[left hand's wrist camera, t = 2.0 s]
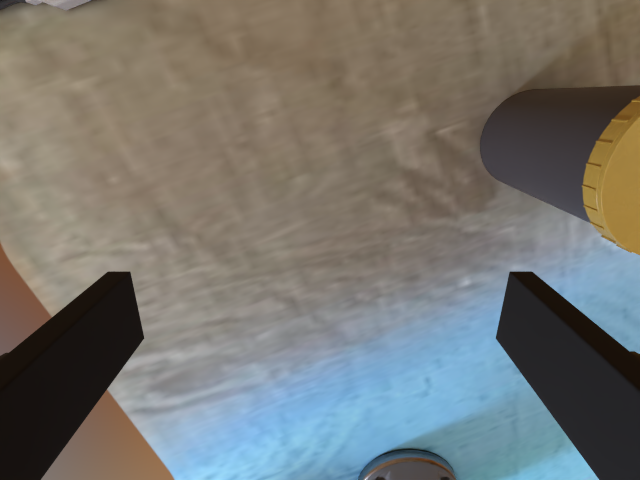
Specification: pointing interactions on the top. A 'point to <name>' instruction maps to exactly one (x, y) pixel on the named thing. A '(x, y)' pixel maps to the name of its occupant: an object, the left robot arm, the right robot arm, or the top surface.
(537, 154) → the jar
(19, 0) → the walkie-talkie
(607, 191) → the lid
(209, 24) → the top surface
